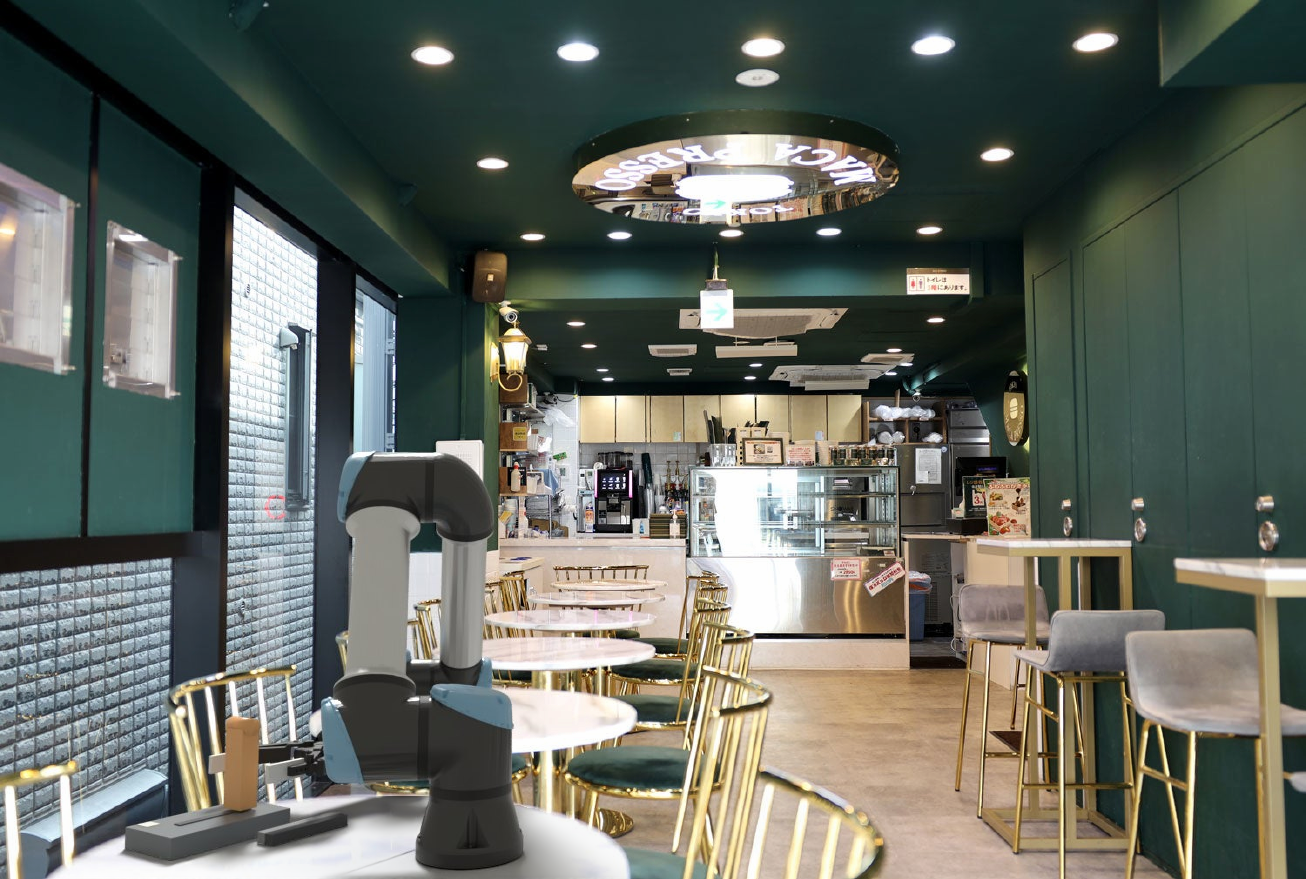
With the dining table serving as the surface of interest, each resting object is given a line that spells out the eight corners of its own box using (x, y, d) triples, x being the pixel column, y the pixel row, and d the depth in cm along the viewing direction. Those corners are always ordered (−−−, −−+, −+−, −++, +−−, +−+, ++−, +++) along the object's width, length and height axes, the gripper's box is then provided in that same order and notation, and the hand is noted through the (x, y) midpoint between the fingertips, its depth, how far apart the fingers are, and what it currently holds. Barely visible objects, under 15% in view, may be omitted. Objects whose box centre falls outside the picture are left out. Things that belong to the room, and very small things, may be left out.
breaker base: (289, 827, 163) (290, 806, 163) (170, 860, 146) (171, 836, 146) (244, 818, 169) (244, 797, 169) (124, 848, 152) (125, 825, 152)
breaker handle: (258, 807, 162) (261, 717, 163) (241, 811, 159) (245, 720, 161) (238, 803, 165) (241, 714, 166) (221, 807, 162) (224, 717, 163)
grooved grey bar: (347, 824, 165) (347, 814, 165) (272, 846, 153) (272, 835, 153) (332, 821, 167) (333, 811, 167) (257, 842, 155) (257, 831, 155)
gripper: (397, 778, 173) (291, 805, 155) (295, 761, 186) (187, 785, 168) (398, 731, 174) (293, 753, 156) (296, 718, 187) (188, 737, 169)
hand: (237, 769), depth 162 cm, fingers open, 13 cm apart
